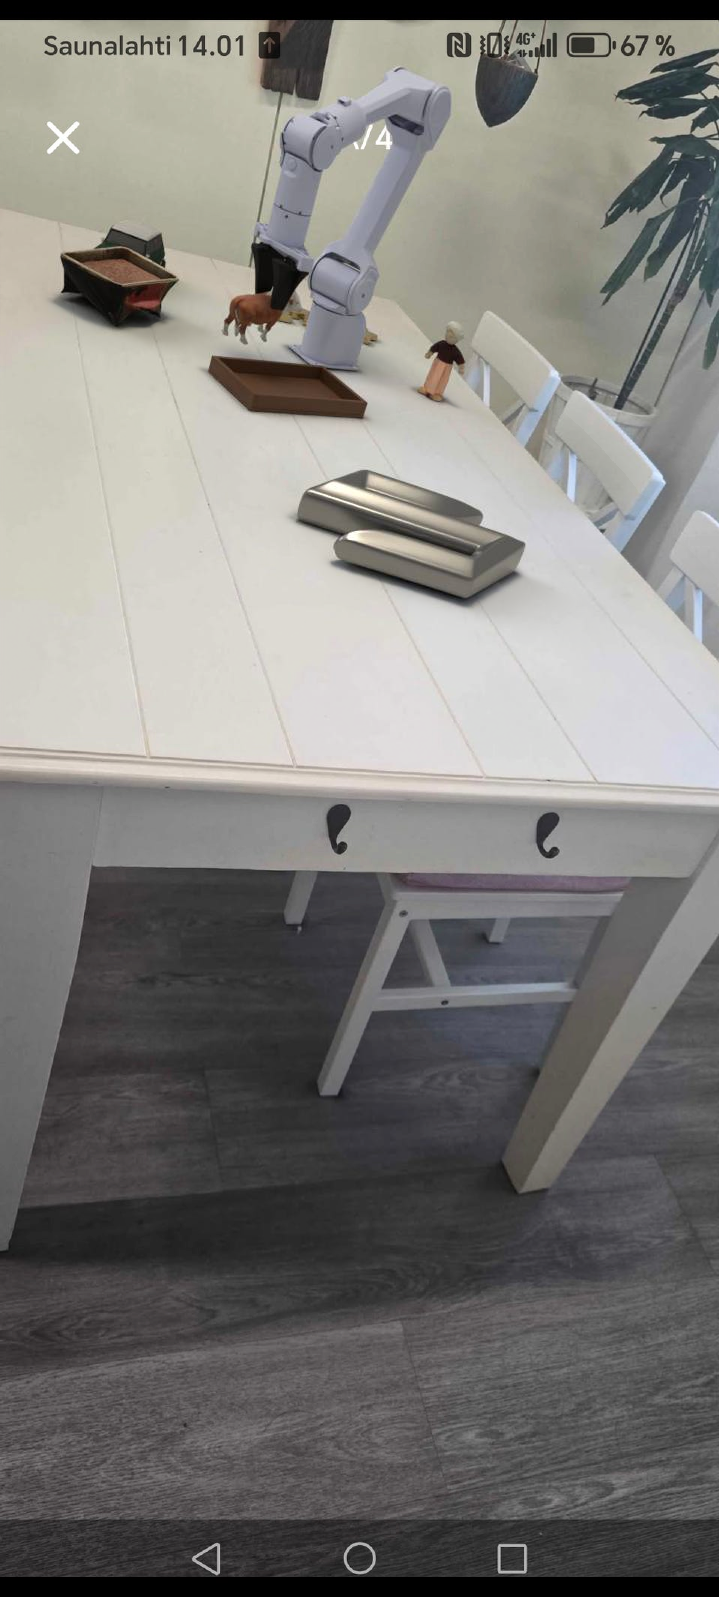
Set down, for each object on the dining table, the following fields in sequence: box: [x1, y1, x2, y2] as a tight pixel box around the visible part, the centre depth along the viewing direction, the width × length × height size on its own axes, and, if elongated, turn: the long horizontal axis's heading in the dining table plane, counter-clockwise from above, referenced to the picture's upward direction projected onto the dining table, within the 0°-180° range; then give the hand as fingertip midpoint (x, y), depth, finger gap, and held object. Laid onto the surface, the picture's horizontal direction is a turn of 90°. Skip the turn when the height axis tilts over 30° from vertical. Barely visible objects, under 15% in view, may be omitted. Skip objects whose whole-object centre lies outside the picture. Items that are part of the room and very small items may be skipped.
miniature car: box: [93, 219, 167, 269], centre depth 206 cm, size 9×18×8 cm, turn 170°
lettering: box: [246, 293, 378, 345], centre depth 219 cm, size 25×10×1 cm, turn 100°
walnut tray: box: [207, 355, 369, 419], centre depth 185 cm, size 20×13×2 cm, turn 124°
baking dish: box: [59, 246, 180, 328], centre depth 190 cm, size 14×18×10 cm
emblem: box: [296, 469, 526, 599], centre depth 153 cm, size 28×5×28 cm
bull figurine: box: [221, 289, 303, 346], centre depth 186 cm, size 4×13×8 cm, turn 134°
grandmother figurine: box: [416, 320, 466, 402], centre depth 203 cm, size 8×4×13 cm, turn 68°
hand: (269, 302), depth 185 cm, fingers closed on bull figurine, 4 cm apart
